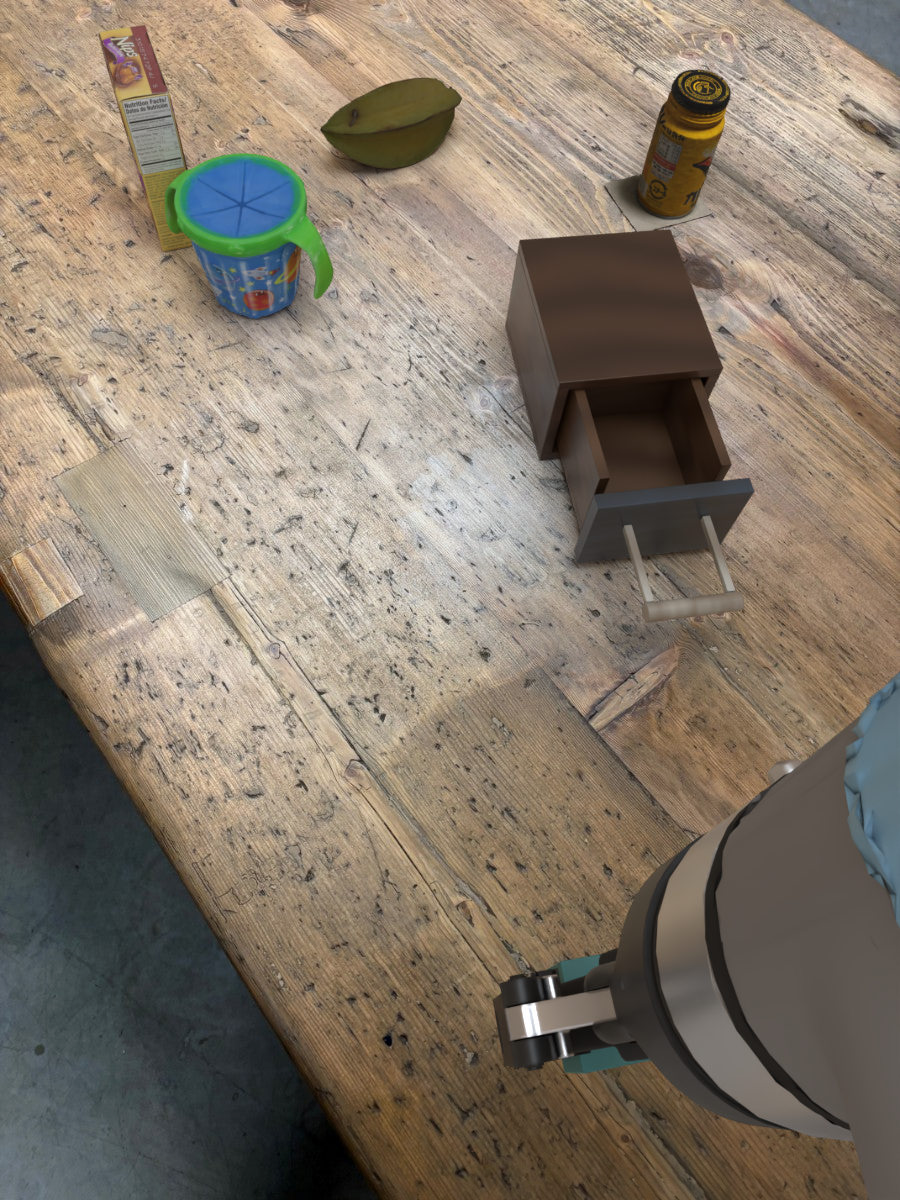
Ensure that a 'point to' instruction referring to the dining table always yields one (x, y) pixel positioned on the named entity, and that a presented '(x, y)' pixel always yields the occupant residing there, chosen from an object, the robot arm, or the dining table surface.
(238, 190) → the snack cup
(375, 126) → the fruit
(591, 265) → the cabinet
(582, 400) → the drawer
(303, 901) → the dining table surface
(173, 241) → the candy box
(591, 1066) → the block
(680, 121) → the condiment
